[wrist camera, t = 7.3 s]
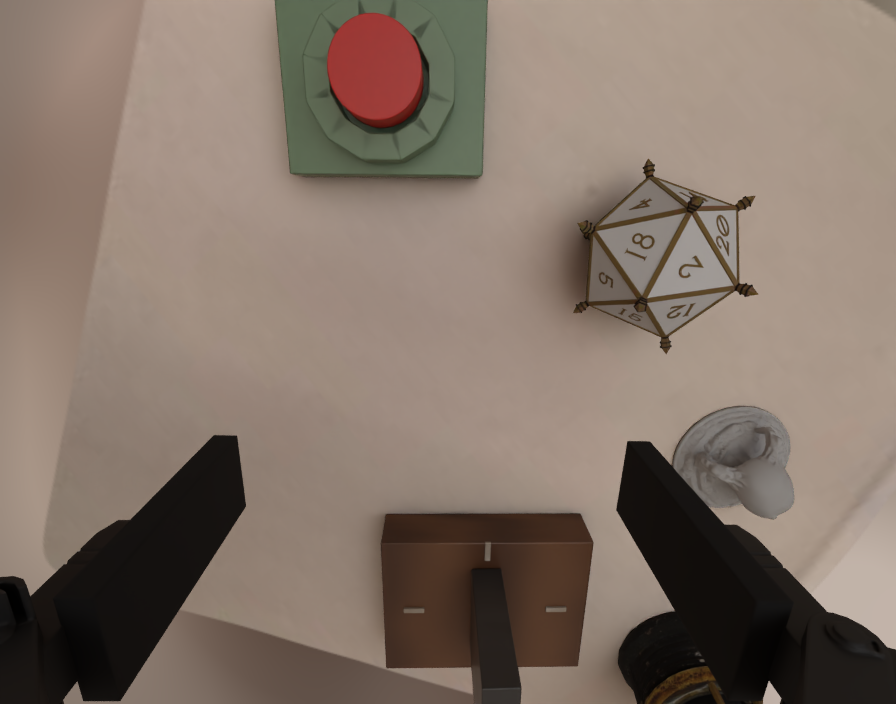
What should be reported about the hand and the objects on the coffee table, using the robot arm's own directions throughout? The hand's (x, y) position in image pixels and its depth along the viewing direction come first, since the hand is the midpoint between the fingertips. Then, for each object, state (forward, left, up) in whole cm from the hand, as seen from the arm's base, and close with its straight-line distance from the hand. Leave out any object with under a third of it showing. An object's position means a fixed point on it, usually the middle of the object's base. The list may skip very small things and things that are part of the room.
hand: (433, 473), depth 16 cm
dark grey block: (+3, -18, -11) cm, 21 cm away
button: (-3, +14, -10) cm, 18 cm away
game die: (+11, +6, -14) cm, 19 cm away
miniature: (+20, -8, -14) cm, 26 cm away
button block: (-3, +14, -14) cm, 20 cm away
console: (+3, -18, -14) cm, 23 cm away
